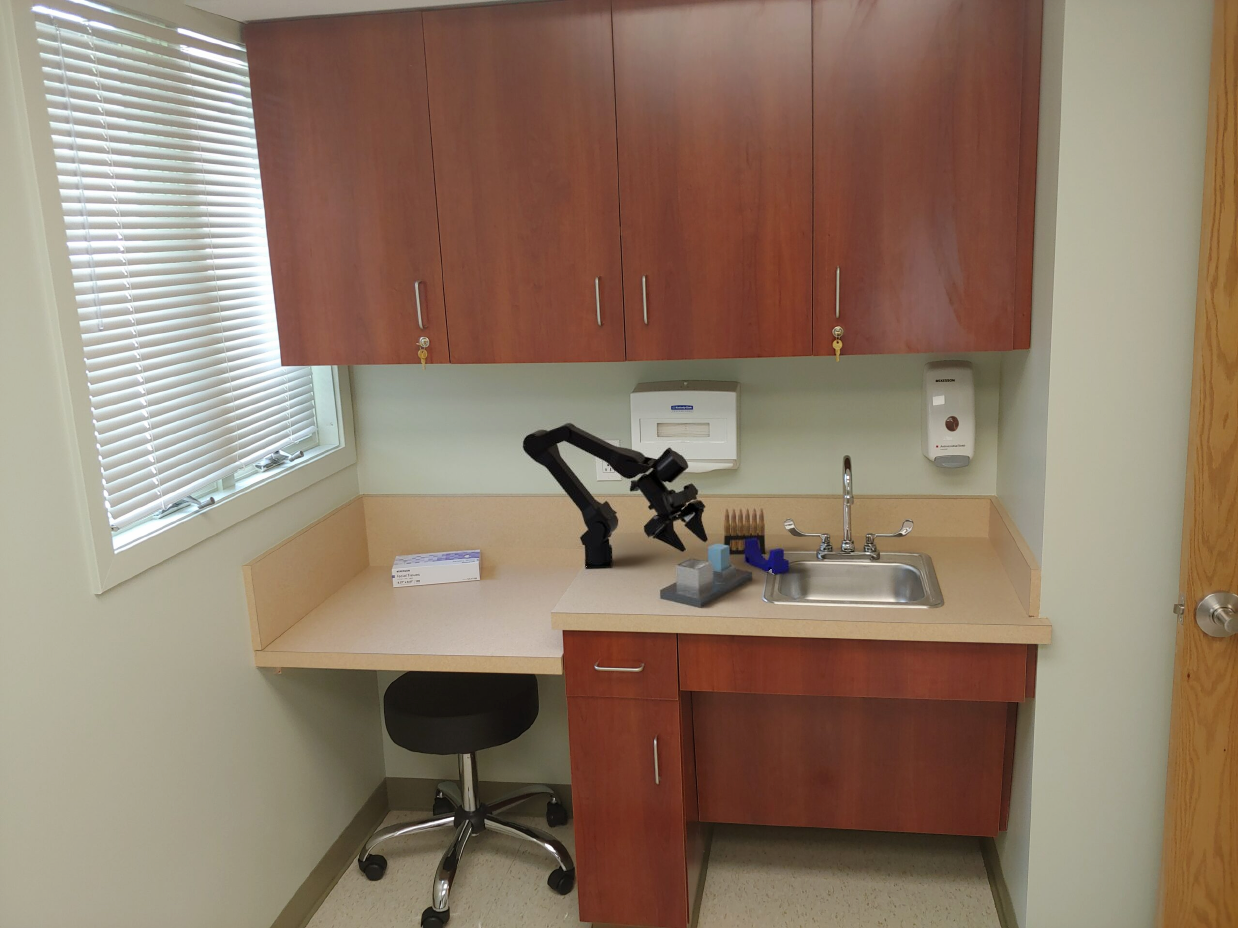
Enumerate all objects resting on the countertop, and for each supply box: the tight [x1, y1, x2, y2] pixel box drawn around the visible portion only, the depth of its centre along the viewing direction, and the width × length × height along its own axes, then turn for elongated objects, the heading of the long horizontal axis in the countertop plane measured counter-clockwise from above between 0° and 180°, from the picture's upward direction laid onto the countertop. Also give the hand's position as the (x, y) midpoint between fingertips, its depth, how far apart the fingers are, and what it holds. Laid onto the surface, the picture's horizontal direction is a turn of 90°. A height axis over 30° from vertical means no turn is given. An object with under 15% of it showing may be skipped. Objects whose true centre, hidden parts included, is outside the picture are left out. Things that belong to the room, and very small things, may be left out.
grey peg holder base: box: [659, 557, 753, 609], centre depth 227 cm, size 22×11×8 cm, turn 142°
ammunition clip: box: [723, 507, 766, 556], centre depth 252 cm, size 11×2×12 cm, turn 86°
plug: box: [707, 543, 730, 571], centre depth 230 cm, size 4×4×7 cm
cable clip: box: [744, 538, 790, 575], centre depth 242 cm, size 12×4×6 cm, turn 28°
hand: (695, 545), depth 234 cm, fingers open, 9 cm apart
